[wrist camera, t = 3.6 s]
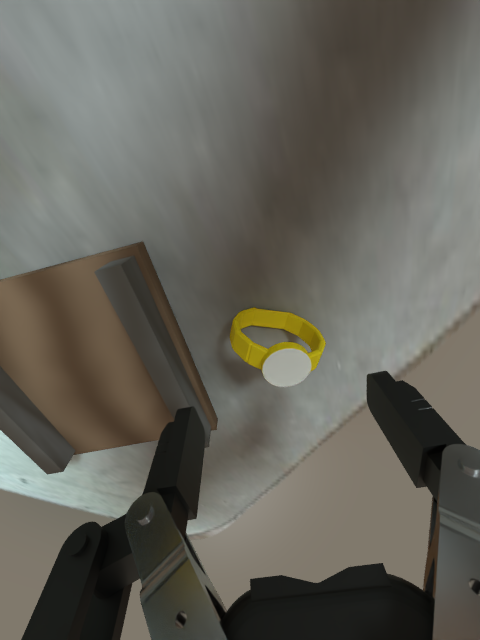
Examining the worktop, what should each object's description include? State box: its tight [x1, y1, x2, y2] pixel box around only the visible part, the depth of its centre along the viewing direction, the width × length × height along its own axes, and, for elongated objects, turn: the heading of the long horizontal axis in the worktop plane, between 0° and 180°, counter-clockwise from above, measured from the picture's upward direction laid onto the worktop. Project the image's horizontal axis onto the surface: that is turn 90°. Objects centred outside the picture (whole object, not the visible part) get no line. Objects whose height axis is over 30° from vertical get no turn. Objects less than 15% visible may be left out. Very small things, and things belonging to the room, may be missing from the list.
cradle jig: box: [0, 242, 218, 474], centre depth 20 cm, size 16×17×3 cm
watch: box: [230, 307, 326, 387], centre depth 16 cm, size 6×3×6 cm, turn 79°
